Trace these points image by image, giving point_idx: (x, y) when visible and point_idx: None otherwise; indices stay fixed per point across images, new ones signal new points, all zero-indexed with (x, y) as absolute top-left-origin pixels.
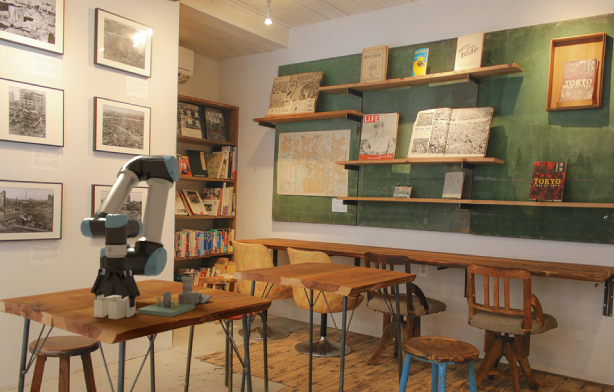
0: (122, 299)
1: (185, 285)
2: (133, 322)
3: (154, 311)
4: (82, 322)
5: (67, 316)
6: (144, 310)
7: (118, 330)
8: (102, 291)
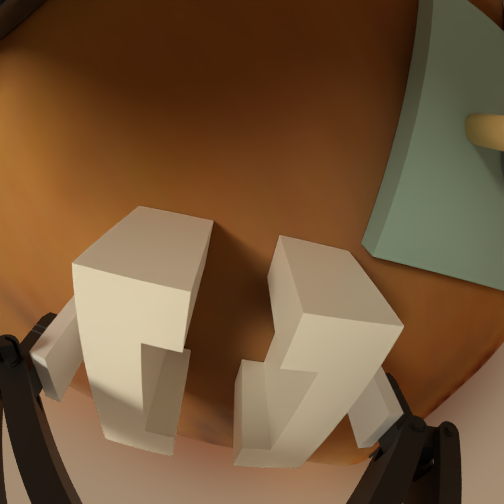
0: (306, 424)
1: None
2: None
3: (471, 281)
4: None
5: None
6: (421, 266)
7: (352, 457)
8: (34, 397)
